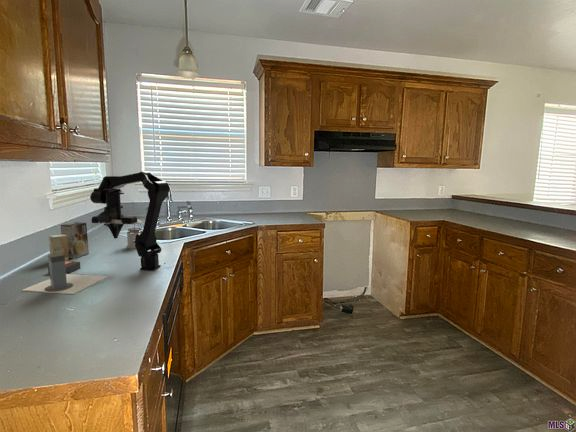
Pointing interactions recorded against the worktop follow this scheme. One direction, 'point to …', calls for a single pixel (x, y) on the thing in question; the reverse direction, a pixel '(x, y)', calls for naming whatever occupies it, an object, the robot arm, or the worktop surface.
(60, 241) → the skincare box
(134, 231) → the french press
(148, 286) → the worktop surface
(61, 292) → the paper sheet
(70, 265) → the button socket
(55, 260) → the dark grey block
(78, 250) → the coffee box
